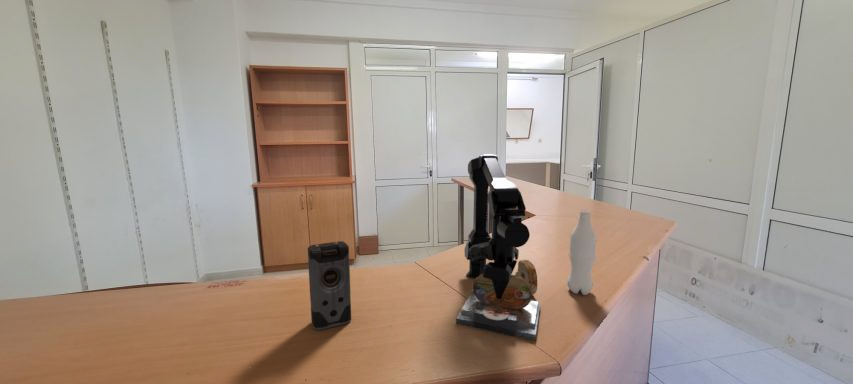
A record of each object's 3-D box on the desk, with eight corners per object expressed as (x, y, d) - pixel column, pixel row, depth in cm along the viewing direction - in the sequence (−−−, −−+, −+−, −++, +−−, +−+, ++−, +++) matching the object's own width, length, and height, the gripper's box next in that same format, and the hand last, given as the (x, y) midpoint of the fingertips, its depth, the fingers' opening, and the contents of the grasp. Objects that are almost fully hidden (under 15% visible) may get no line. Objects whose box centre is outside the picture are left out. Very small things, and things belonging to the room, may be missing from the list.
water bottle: (566, 294, 99) (572, 212, 95) (566, 285, 105) (571, 208, 102) (593, 298, 96) (600, 214, 93) (591, 288, 103) (597, 210, 99)
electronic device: (314, 332, 79) (310, 252, 76) (310, 320, 84) (306, 245, 81) (352, 322, 83) (350, 246, 80) (347, 312, 88) (344, 240, 86)
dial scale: (472, 296, 97) (472, 282, 97) (539, 308, 90) (540, 293, 89) (453, 327, 81) (454, 310, 80) (534, 345, 74) (535, 326, 73)
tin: (472, 302, 89) (472, 272, 88) (475, 297, 92) (475, 268, 90) (530, 312, 83) (532, 281, 82) (531, 307, 86) (533, 276, 85)
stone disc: (539, 300, 95) (541, 267, 94) (526, 301, 95) (528, 267, 93) (525, 285, 105) (526, 255, 104) (514, 285, 105) (515, 255, 104)
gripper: (480, 224, 96) (479, 275, 98) (462, 241, 79) (461, 303, 81) (519, 227, 92) (517, 281, 94) (510, 247, 75) (507, 311, 77)
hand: (501, 292), depth 86 cm, fingers open, 7 cm apart
